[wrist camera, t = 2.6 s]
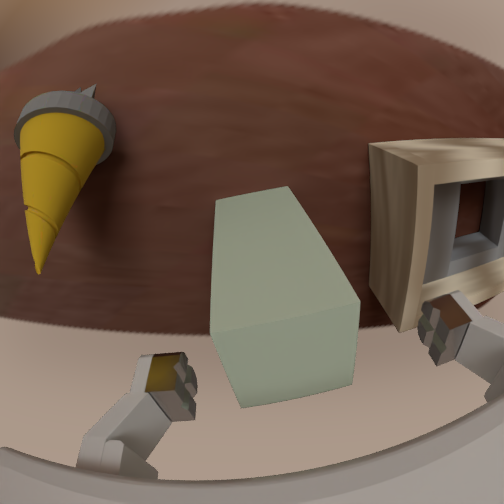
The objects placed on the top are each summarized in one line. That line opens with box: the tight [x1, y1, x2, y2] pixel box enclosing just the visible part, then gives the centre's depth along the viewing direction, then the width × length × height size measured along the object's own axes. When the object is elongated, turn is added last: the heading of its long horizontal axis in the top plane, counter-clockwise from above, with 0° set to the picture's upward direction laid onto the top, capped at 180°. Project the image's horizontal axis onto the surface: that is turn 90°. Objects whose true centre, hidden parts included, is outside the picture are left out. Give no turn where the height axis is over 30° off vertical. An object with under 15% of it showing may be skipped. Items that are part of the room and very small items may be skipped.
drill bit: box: [14, 84, 116, 274], centre depth 11 cm, size 5×5×10 cm
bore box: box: [368, 138, 504, 333], centre depth 15 cm, size 16×10×5 cm, turn 100°
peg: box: [210, 186, 360, 408], centre depth 13 cm, size 4×4×10 cm
